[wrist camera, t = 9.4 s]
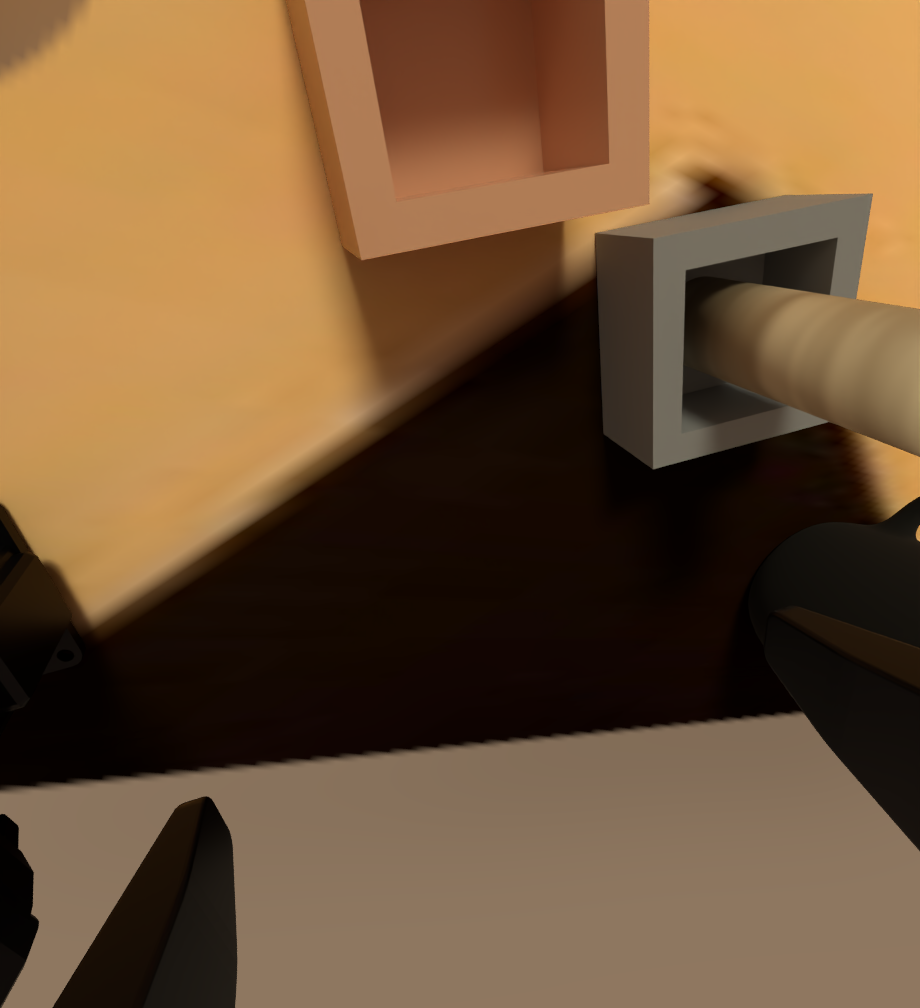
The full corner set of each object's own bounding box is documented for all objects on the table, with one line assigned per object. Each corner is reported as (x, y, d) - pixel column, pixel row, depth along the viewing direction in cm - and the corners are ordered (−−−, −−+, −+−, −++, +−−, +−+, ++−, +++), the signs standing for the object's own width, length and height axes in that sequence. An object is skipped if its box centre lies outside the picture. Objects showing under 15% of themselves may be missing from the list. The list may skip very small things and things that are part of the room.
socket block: (603, 433, 23) (653, 469, 20) (595, 233, 19) (653, 238, 16) (766, 391, 24) (836, 419, 21) (785, 195, 20) (872, 193, 17)
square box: (342, 246, 18) (361, 260, 13) (268, -71, 14) (262, -192, 10) (564, 204, 19) (649, 204, 14) (545, -100, 15) (649, -220, 11)
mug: (811, 664, 32) (1008, 835, 24) (688, 637, 29) (865, 826, 20) (956, 467, 28) (1256, 584, 20) (834, 408, 25) (1132, 519, 16)
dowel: (658, 372, 21) (913, 483, 13) (659, 285, 20) (945, 343, 11) (732, 354, 22) (1026, 449, 13) (738, 268, 20) (1071, 311, 12)
